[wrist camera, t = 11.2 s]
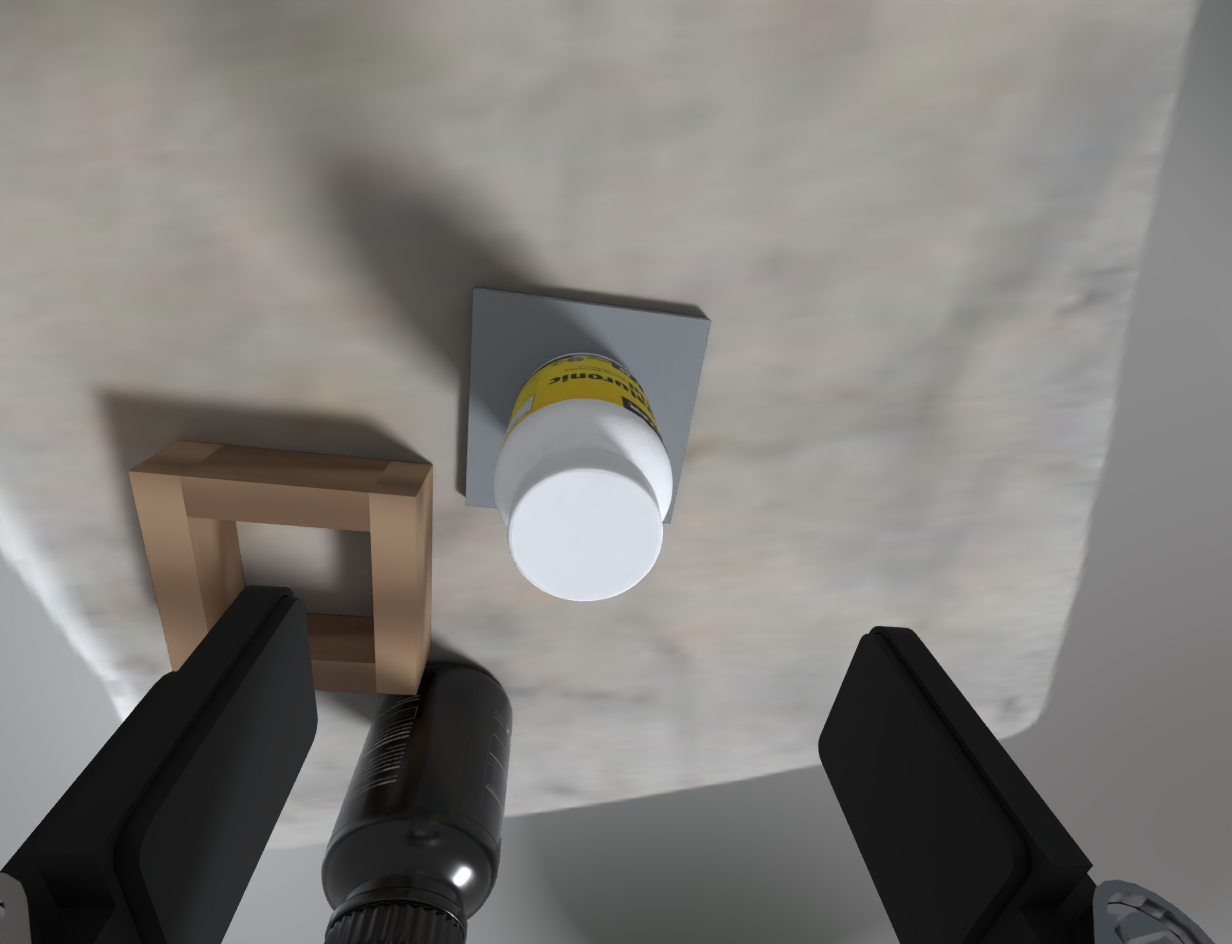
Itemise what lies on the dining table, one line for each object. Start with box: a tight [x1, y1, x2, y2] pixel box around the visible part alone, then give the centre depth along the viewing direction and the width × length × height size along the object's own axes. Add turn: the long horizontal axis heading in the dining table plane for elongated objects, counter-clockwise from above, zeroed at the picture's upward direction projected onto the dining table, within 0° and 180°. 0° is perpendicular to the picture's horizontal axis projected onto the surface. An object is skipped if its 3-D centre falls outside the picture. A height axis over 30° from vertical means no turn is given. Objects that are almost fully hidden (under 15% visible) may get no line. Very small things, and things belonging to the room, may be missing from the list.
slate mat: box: [465, 287, 711, 524], centre depth 24 cm, size 9×9×1 cm
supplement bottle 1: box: [321, 664, 512, 944], centre depth 25 cm, size 7×7×12 cm
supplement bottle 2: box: [494, 353, 673, 601], centre depth 19 cm, size 5×5×10 cm
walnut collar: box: [128, 441, 433, 695], centre depth 25 cm, size 10×10×3 cm
